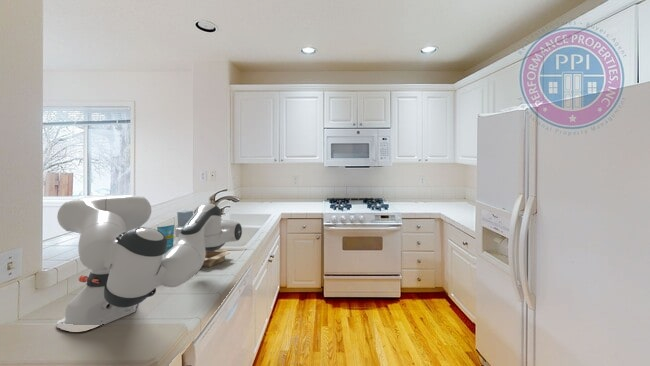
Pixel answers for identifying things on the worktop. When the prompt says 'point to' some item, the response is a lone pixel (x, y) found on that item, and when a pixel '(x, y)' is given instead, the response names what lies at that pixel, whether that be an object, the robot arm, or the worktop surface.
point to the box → (184, 217)
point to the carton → (214, 257)
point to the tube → (168, 235)
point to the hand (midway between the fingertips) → (184, 226)
